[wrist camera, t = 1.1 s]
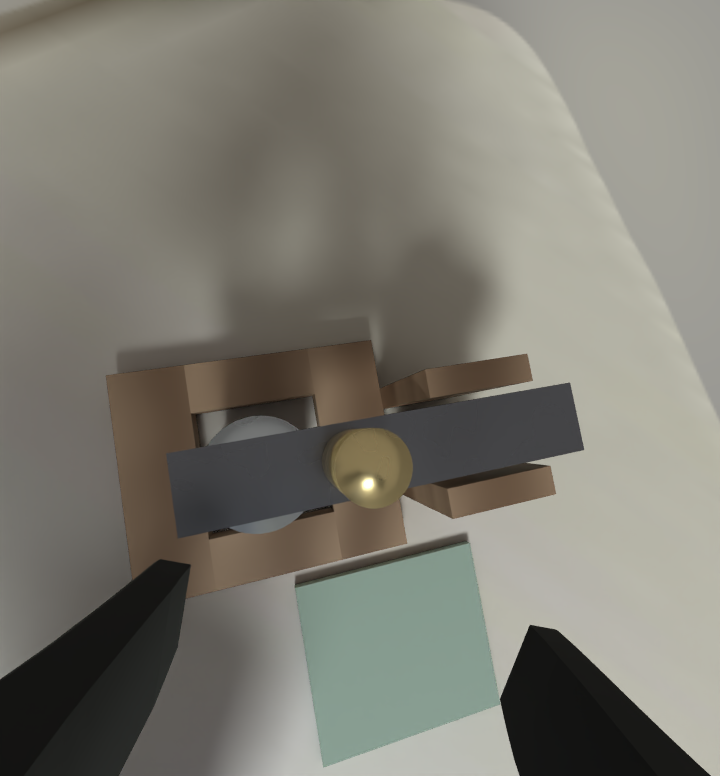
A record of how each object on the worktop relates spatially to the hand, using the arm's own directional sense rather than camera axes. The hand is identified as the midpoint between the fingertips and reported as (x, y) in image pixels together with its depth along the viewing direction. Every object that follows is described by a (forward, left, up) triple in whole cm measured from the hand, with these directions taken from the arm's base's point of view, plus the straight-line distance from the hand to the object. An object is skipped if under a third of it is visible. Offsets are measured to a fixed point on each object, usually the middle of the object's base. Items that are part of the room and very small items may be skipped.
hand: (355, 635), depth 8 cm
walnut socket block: (0, +3, -12) cm, 12 cm away
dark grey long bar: (+3, +3, -5) cm, 7 cm away
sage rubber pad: (+3, -7, -12) cm, 14 cm away
